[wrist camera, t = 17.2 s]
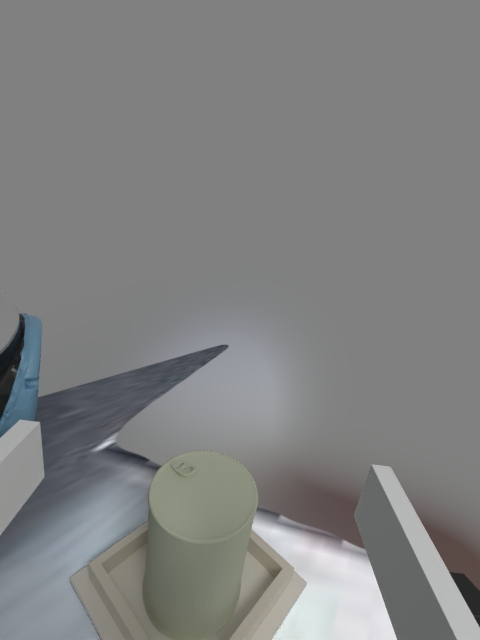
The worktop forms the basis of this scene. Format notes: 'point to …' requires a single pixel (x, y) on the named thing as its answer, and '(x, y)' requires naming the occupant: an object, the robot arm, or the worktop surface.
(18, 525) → the worktop surface
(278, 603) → the square tray
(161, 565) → the can
